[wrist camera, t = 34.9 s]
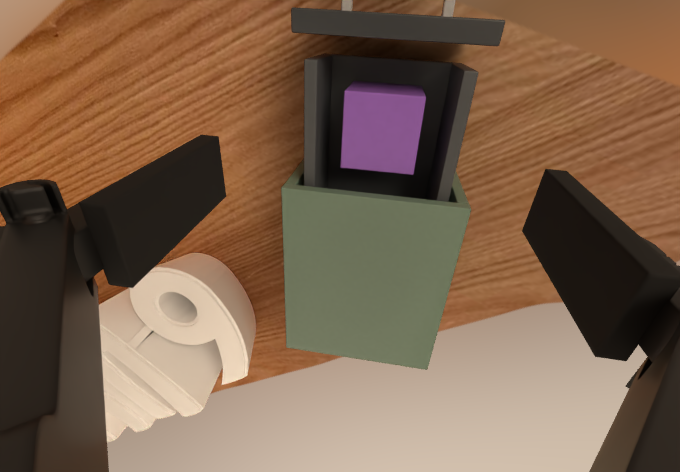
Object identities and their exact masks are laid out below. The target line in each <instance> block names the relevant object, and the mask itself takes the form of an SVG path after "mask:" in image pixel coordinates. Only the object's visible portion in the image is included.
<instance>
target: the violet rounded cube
mask: <svg viewBox="0 0 680 472" xmlns="http://www.w3.org/2000/svg"><path fill="white" fill-rule="evenodd" d="M425 102H426V96H425V93H424V91H423V88H422V86H419V85H405V84H392V83H378V82H364V81H353V82H352V83H351V85H350V86H349V87H348V88H347V89H346V90H345V91H344V107H343V126H342V145H341V165H340V167H341V168H349V169H359V170H369V171H379V172H389V173H399V174H409V175H413V174H414V168H415V162H416V156H417V150H418V144H419V138H420V132H421V126H422V120H423V114H424V108H425Z"/></svg>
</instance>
